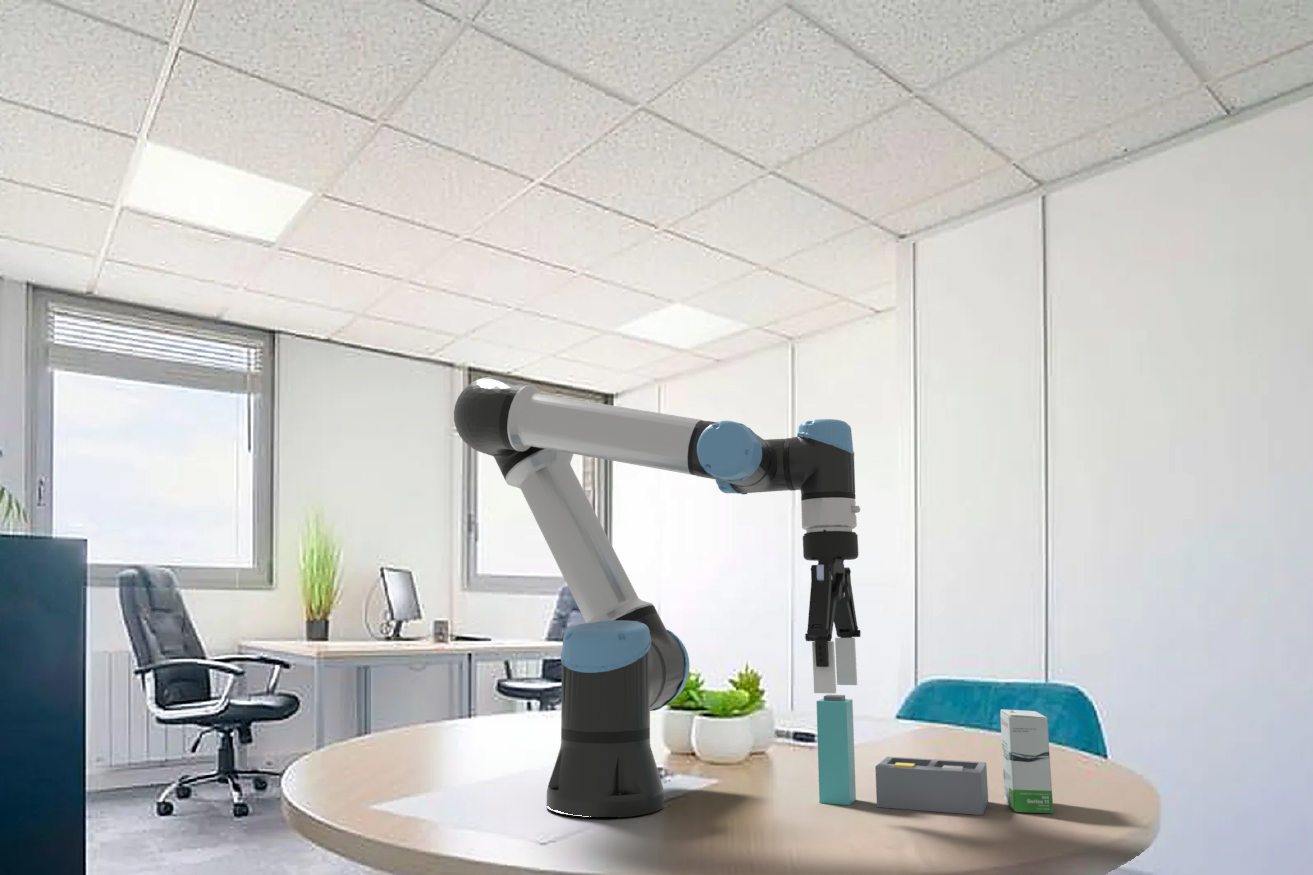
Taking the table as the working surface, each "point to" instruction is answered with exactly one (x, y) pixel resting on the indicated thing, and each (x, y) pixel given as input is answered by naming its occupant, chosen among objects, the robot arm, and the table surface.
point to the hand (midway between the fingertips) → (836, 689)
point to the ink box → (1026, 761)
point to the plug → (836, 750)
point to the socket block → (932, 785)
